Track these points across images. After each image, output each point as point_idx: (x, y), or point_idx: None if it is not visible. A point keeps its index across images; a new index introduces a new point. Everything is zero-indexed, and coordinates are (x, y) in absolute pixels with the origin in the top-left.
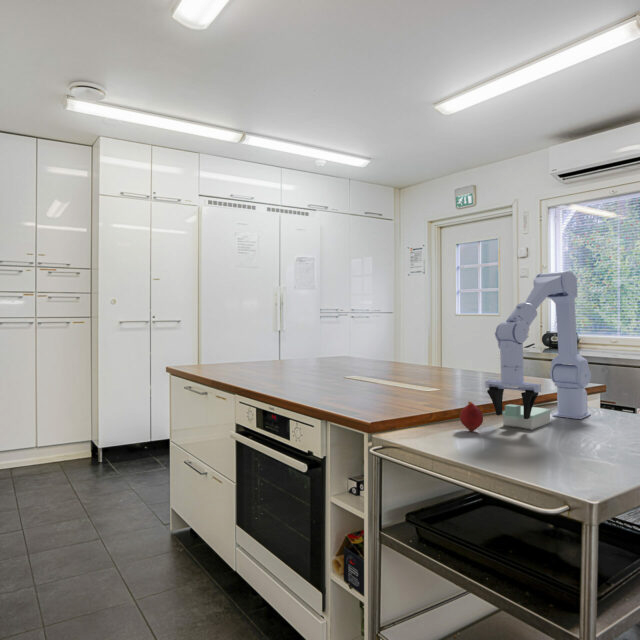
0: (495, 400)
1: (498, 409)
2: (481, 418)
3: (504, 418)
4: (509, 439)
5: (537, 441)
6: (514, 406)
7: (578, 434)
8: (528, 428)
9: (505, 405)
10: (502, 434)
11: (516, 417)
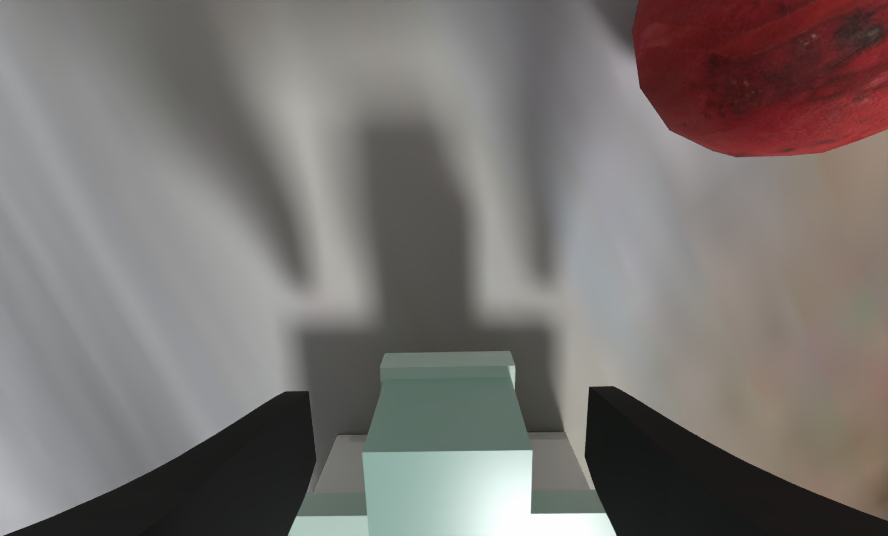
0: (717, 484)
1: (616, 428)
2: (653, 6)
3: (571, 472)
4: (290, 2)
5: (104, 107)
6: (390, 473)
7: (60, 500)
8: (364, 438)
9: (528, 466)
10: (425, 140)
11: (381, 381)
